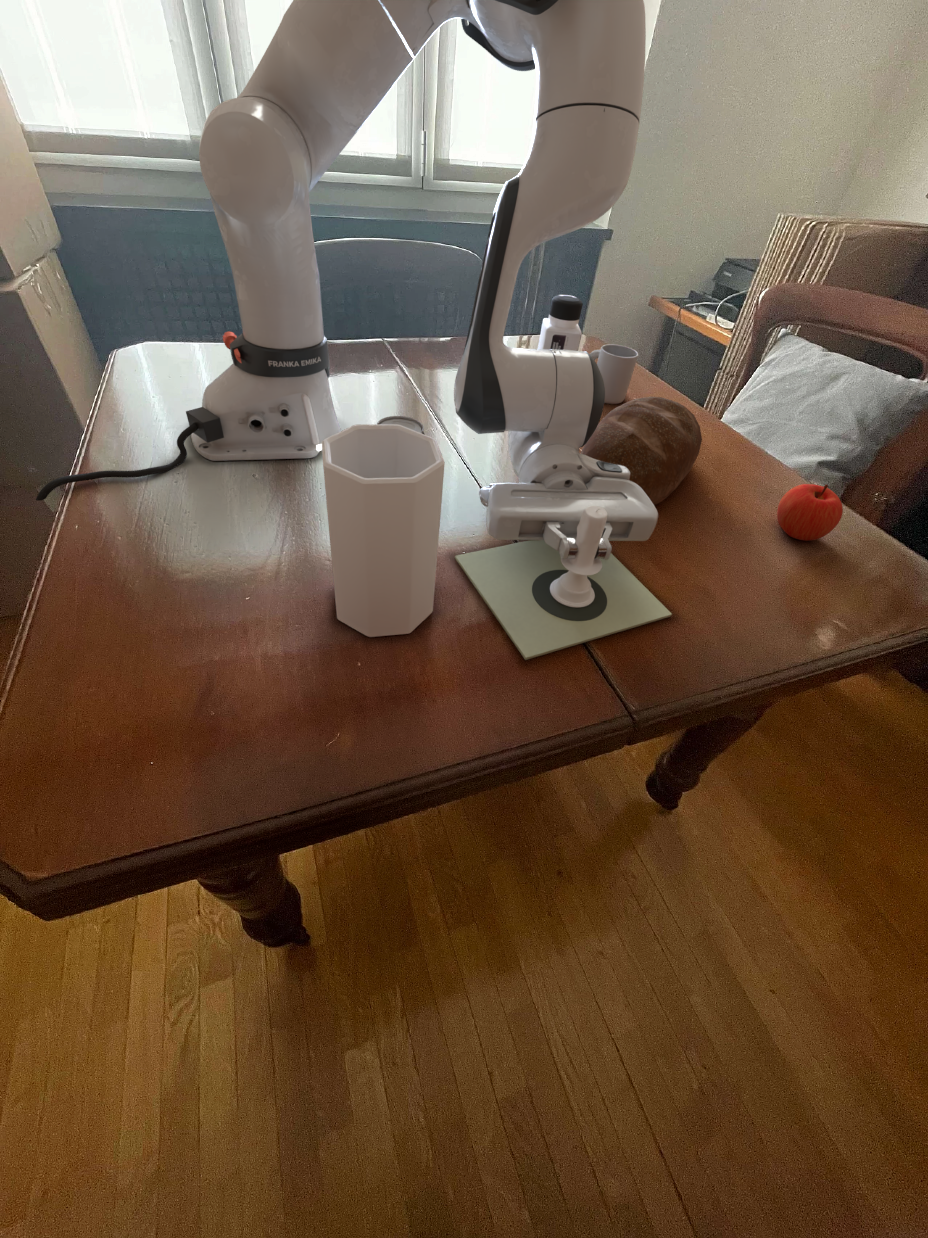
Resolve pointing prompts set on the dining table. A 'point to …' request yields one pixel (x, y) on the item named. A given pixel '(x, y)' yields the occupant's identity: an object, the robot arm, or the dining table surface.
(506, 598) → the mat
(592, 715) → the dining table surface
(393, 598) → the cup
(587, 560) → the candle
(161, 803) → the dining table surface
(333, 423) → the robot arm
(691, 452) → the bread
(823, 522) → the apple
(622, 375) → the cup
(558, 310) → the container
